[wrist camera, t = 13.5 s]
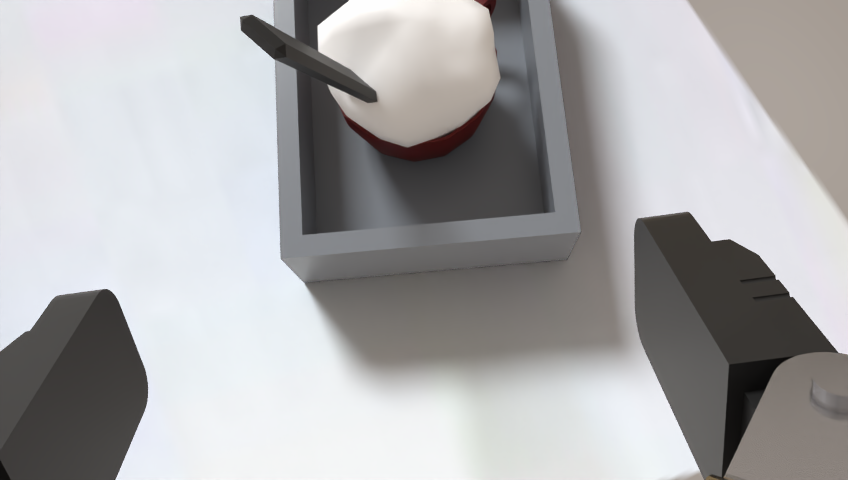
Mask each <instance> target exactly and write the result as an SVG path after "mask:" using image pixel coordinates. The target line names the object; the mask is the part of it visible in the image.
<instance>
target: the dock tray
mask: <svg viewBox="0 0 848 480" xmlns="http://www.w3.org/2000/svg"><path fill="white" fill-rule="evenodd" d="M348 1H349V0H273V6H274V27H275V28H277V29H279V30H281V31H282V32H284V33H286V34H288V35H289V36H291V37H293V38H295V39H297V40H298V41H300V42H302V43H304V44H306V45H307V46H309V47H311V48H313V49H315V50H316V51H318V25H319V24H321V23H322V22H323V21H324V20H326V19H327V18H328V17H329V16H331V15H332V14H333V13H334V12H336V11H337V10H338V9H339V8H340V7H342V6H343V5H344V4H345V3H347V2H348ZM491 22H492V27H493V31H494V44H495V48H496V50H497V62H498V67H499V72H500V77H501V78H500V80H499V83H498V85H497V87H496V90H495V96H494V99H493V101H492V103H491V105H490V106H489V108H488V110H487V112H486V114H485V115H484V117H483V119H482V121H481V123H480V124H479V126H478V128H477V130H476V131H475V133H474V135H473V136H472V137H471V138H470V139H468V140H467V141H466V142H464V143H463V144H461V145H460V146H458V147H457V148H456V149H454V150H453V151H451V152H450V153H448V154H447V155H446V156H443V157H438V158H432V159H427V160H422V161H416V162H412V161H408V160H404V159H400V158H396V157H392V156H388V155H384V154H382V153H380V152H379V151H378V150H377V149H375V148H374V147H373V146H372V145H370V144H369V143H368V142H367V141H365V140H364V139H363V138H362V137H361V136H359V135H358V134H357V133H356V132H354V131H353V130H352V129H351V128H350V127H349V126H348V124H347V122H346V120H345V118H344V116H343V114H342V112H341V109H340V107H339V105H338V103H337V101H336V100H335V98H334V97H333V96H332V94H331V92H330V90H329V88H328V85H327V84H326V83H324V82H322V81H320V80H317V79H315V78H313V77H311V76H309V75H307V74H305V73H303V72H300V71H298V70H296V69H294V68H292V67H290V66H288V65H286V64H283V63H281V62H279V61H277V60H275V75H276V110H277V145H278V180H279V215H280V250H281V260H282V261H283V262H284V263H285V264H286V265H287V266H288V267H289V268H290V269H291V270H292V271H293V272H294V273H295V274H296V275H297V276H298V277H299V278H300V279H301V280H302V281H303V282H304V283H305V282H316V281H327V280H339V279H350V278H361V277H373V276H384V275H396V274H407V273H418V272H430V271H441V270H453V269H464V268H475V267H487V266H498V265H509V264H521V263H532V262H544V261H555V260H566V259H568V257H569V255H570V253H571V251H572V249H573V247H574V245H575V243H576V241H577V239H578V237H579V235H580V233H581V228H580V221H579V214H578V206H577V199H576V192H575V184H574V177H573V170H572V162H571V155H570V148H569V140H568V133H567V126H566V118H565V111H564V104H563V96H562V89H561V82H560V74H559V67H558V60H557V52H556V45H555V38H554V30H553V23H552V16H551V8H550V1H549V0H496V6H495V9H494V11H493V14H492V16H491Z"/></svg>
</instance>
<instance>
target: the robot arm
mask: <svg viewBox="0 0 848 480" xmlns="http://www.w3.org/2000/svg"><path fill="white" fill-rule="evenodd" d="M634 263H635V314H636V322H637V327H638V332H639V336H640V339H641V343H642V345H643V348H644V350H645V352H646V354H647V357H648V359H649V361H650V363H651V365H652V367H653V370H654V372H655V374H656V376H657V378H658V380H659V383H660V385H661V387H662V389H663V391H664V393H665V396H666V398H667V400H668V402H669V404H670V406H671V409H672V411H673V413H674V415H675V417H676V419H677V422H678V424H679V426H680V428H681V430H682V433H683V435H684V437H685V439H686V441H687V443H688V446H689V448H690V450H691V452H692V454H693V456H694V459H695V461H696V463H697V465H698V467H699V469H700V472H701V474H702V476H703V478H704V480H848V355H847V354H842V353H838V352H837V350H836V349H835V348H834V347H833V346H832V344H831V343H830V342H829V341H828V339H827V338H826V337H825V336H824V335H823V333H822V332H821V331H820V330H819V328H818V327H817V326H816V325H815V324H814V322H813V321H812V320H811V319H810V317H809V316H808V315H807V314H806V313H805V311H804V310H803V309H802V308H801V306H800V305H799V304H798V303H797V302H796V300H795V299H794V298H793V297H790V296H789V292H788V291H787V289H786V288H785V287H784V286H783V284H782V283H781V282H780V281H779V280H776V278H775V275H774V273H773V272H772V271H771V270H770V269H769V267H768V266H767V265H766V264H765V262H764V261H763V260H762V259H761V258H760V256H759V255H757V254H756V253H754V252H752V251H750V250H748V249H747V248H745V247H743V246H741V245H739V244H737V243H736V242H734V241H732V240H730V239H728V240H721V241H713V242H711V240H710V239H709V238H708V236H707V235H706V234H705V232H704V231H703V229H702V228H701V227H700V225H699V224H698V223H697V221H696V220H695V219H694V217H693V216H692V215H691V214H690V213H689V212H683V213H675V214H668V215H660V216H653V217H645V218H639V219H637V221H636V223H635V230H634ZM147 398H148V382H147V376H146V371H145V368H144V365H143V363H142V360H141V358H140V355H139V353H138V350H137V348H136V345H135V342H134V340H133V337H132V335H131V332H130V330H129V327H128V325H127V322H126V319H125V317H124V314H123V312H122V309H121V307H120V304H119V302H118V300H117V298H116V296H115V295H114V294H113V293H112V292H111V291H110V290H108V289H102V290H95V291H87V292H80V293H73V294H65V295H59V296H56V297H55V298H54V299H53V300H52V301H51V302H50V304H49V305H48V307H47V308H46V309H45V311H44V312H43V314H42V315H41V316H40V318H39V319H38V321H37V322H36V323H35V325H34V326H33V328H32V329H31V330H30V331H27V332H25V333H23V334H22V335H21V336H20V337H18V338H17V339H16V340H15V341H13V342H12V343H11V344H9V345H8V346H7V347H6V348H4V349H3V350H2V351H1V352H0V480H115V479H116V477H117V475H118V472H119V470H120V468H121V465H122V463H123V460H124V458H125V456H126V453H127V451H128V449H129V446H130V444H131V442H132V439H133V437H134V435H135V432H136V430H137V427H138V425H139V423H140V420H141V418H142V416H143V413H144V411H145V408H146V404H147Z"/></svg>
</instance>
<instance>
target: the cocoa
mask: <svg viewBox="0 0 848 480" xmlns="http://www.w3.org/2000/svg"><path fill="white" fill-rule="evenodd" d="M495 6H496V0H349V1H348V2H347V3H345V4H344V5H343V6H342V7H340V8H339V9H338V10H337V11H336V12H334V13H333V14H332V15H331V16H329V17H328V18H327V19H326V20H324V21H323V22H322V23H321V24H319V25H318V51H316V50H315V49H313V48H311V47H309V46H307V45H306V44H304V43H302V42H300V41H298V40H297V39H295V38H293V37H291V36H289V35H288V34H286V33H284V32H282V31H281V30H279V29H277V28H275V27H273V26H272V25H270V24H268V23H266V22H264V21H263V20H261V19H259V18H257V17H255V16H254V15H248V16H242V17H240V22H241V31H242V32H244V33H245V34H246V35H247V36H248V37H249V38H250V39H252V40H253V41H254V42H255V43H256V44H257V45H258V46H260V47H261V48H262V49H263V50H264V51H265V52H266V53H268V54H269V55H270V56H271V57H272V58H273V59H275V60H277V61H279V62H281V63H283V64H286V65H288V66H290V67H292V68H294V69H296V70H298V71H300V72H303V73H305V74H307V75H309V76H311V77H313V78H315V79H317V80H320V81H322V82H324V83H326V84H327V85H328V88H329V90H330V92H331V94H332V96H333V97H334V98H335V100H336V101H337V103H338V105H339V107H340V109H341V112H342V114H343V116H344V118H345V120H346V122H347V124H348V126H349V127H350V128H351V129H352V130H353V131H354V132H356V133H357V134H358V135H359V136H361V137H362V138H363V139H364V140H365V141H367V142H368V143H369V144H370V145H372V146H373V147H374V148H375V149H377V150H378V151H379V152H380V153H382V154H384V155H388V156H392V157H396V158H400V159H404V160H408V161H412V162H416V161H422V160H427V159H432V158H438V157H443V156H446V155H447V154H448V153H450V152H451V151H453V150H454V149H456V148H457V147H458V146H460V145H461V144H463V143H464V142H466V141H467V140H468V139H470V138H471V137H472V136H473V135H474V133H475V131H476V130H477V128H478V126H479V124H480V123H481V121H482V119H483V117H484V115H485V114H486V112H487V110H488V108H489V106H490V105H491V103H492V101H493V99H494V96H495V90H496V87H497V85H498V83H499V80H500V78H501V77H500V72H499V67H498V62H497V50H496V48H495V44H494V31H493V27H492V22H491V16H492V14H493V11H494V9H495Z"/></svg>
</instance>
